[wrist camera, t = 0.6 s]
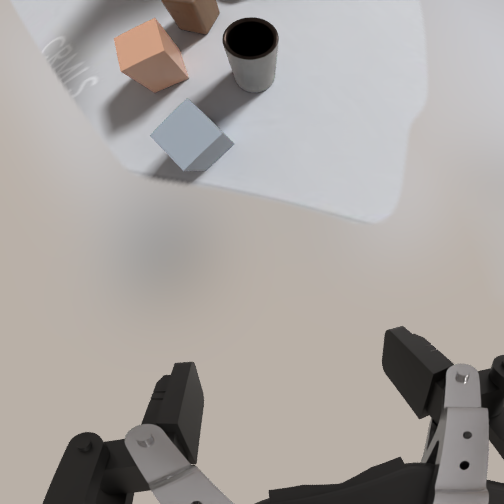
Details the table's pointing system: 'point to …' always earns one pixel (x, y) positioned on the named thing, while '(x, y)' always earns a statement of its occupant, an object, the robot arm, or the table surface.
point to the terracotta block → (150, 56)
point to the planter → (252, 53)
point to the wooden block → (193, 14)
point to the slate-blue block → (191, 138)
